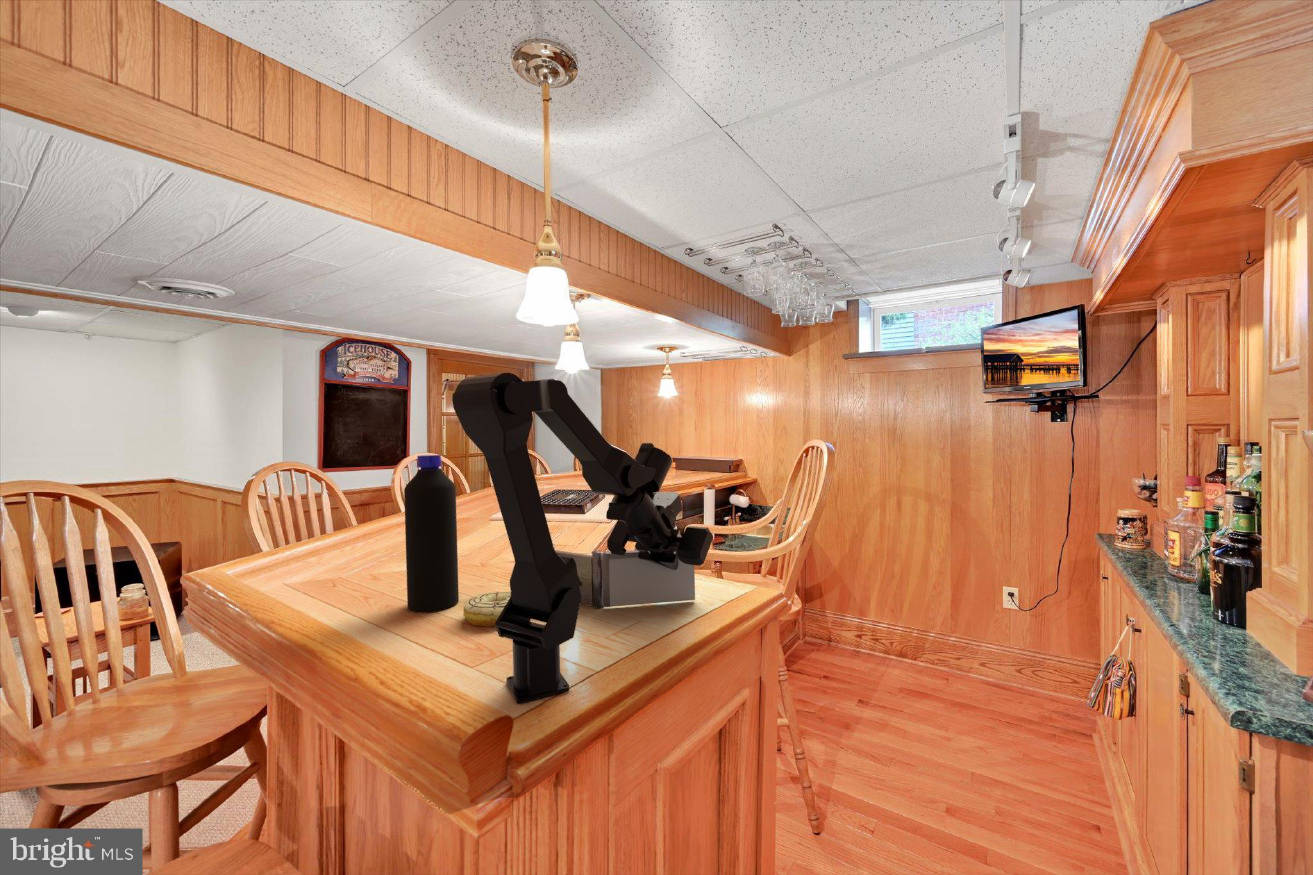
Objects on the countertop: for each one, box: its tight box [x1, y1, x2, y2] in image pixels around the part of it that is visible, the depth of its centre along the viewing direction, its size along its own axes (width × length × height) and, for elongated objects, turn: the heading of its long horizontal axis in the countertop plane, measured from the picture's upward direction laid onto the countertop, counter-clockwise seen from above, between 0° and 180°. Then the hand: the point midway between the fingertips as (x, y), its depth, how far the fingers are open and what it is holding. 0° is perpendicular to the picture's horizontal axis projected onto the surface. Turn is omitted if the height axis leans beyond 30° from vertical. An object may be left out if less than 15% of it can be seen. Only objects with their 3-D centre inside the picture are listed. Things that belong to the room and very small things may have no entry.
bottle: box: [403, 454, 460, 613], centre depth 97 cm, size 9×9×28 cm
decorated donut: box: [463, 591, 511, 628], centre depth 90 cm, size 10×11×4 cm
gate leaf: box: [602, 549, 696, 608], centre depth 94 cm, size 17×2×10 cm, turn 100°
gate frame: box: [553, 543, 605, 610], centre depth 97 cm, size 14×2×10 cm, turn 57°
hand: (675, 567), depth 94 cm, fingers closed
